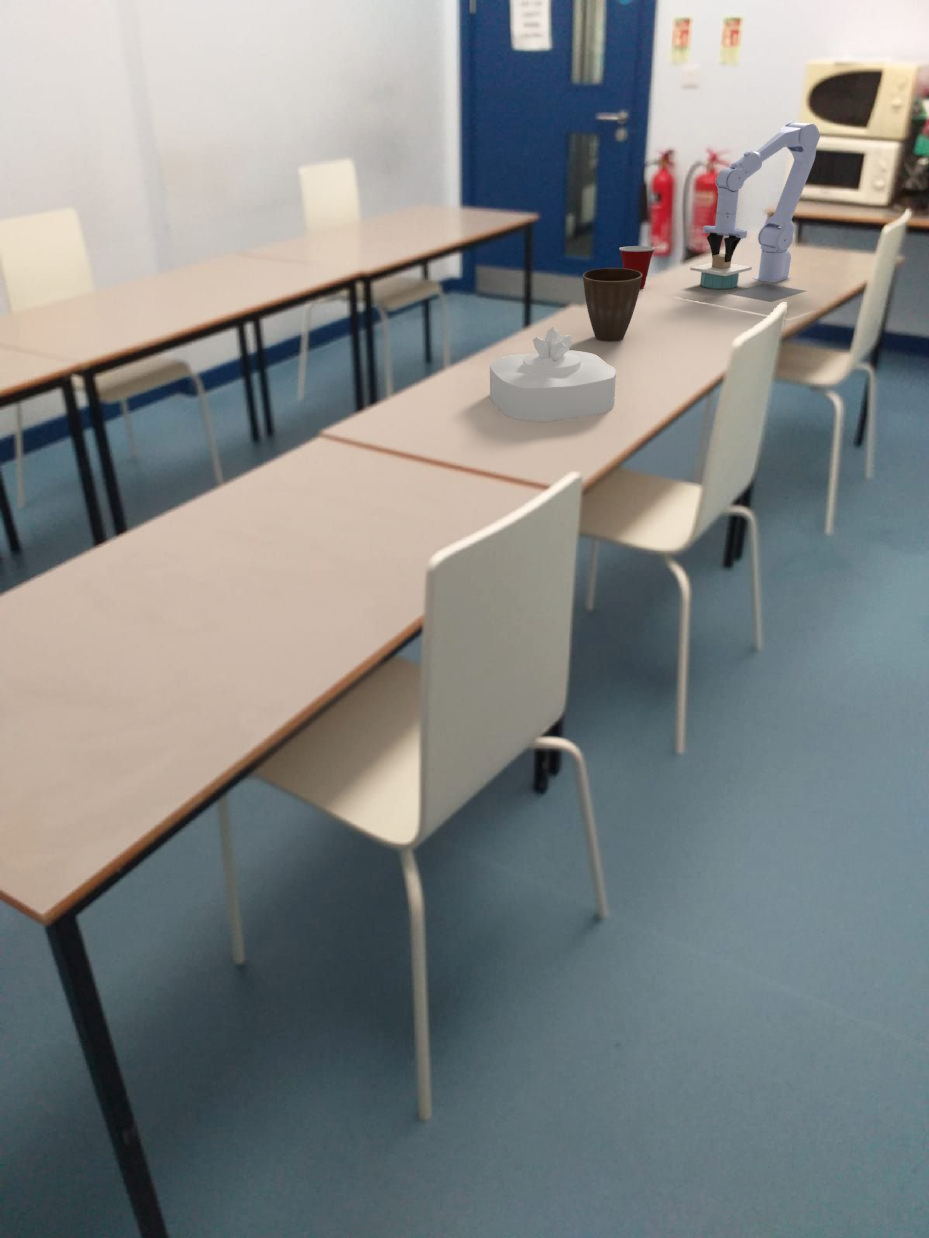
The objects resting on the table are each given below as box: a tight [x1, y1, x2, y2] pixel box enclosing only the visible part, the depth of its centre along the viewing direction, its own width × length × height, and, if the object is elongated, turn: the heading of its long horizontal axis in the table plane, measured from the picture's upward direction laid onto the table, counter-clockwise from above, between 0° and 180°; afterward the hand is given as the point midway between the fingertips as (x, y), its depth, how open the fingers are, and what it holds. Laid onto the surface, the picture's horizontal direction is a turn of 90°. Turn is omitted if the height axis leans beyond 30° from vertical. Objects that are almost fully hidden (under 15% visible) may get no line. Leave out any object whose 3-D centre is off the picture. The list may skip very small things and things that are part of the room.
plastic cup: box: [619, 245, 656, 290], centre depth 298 cm, size 11×11×12 cm
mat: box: [728, 282, 806, 303], centre depth 288 cm, size 18×15×1 cm
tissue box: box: [489, 326, 617, 423], centre depth 208 cm, size 25×25×16 cm
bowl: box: [699, 272, 740, 290], centre depth 297 cm, size 11×11×5 cm
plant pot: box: [582, 267, 642, 342], centre depth 249 cm, size 15×15×16 cm
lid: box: [689, 252, 753, 276], centre depth 294 cm, size 13×13×4 cm
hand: (721, 261), depth 294 cm, fingers closed on lid, 4 cm apart
